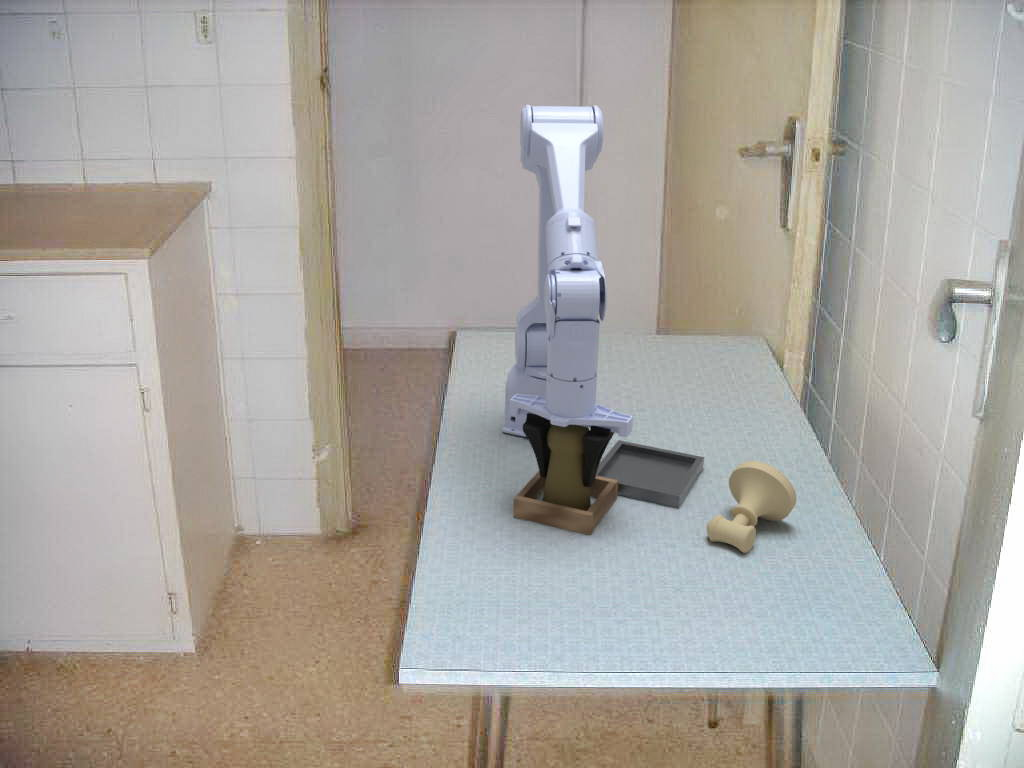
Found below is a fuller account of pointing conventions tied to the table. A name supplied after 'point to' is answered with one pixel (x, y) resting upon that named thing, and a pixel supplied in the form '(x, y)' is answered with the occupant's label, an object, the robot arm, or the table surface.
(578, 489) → the olive peg figure
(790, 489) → the door knob
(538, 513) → the walnut stand
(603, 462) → the grey square tray
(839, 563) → the table surface
